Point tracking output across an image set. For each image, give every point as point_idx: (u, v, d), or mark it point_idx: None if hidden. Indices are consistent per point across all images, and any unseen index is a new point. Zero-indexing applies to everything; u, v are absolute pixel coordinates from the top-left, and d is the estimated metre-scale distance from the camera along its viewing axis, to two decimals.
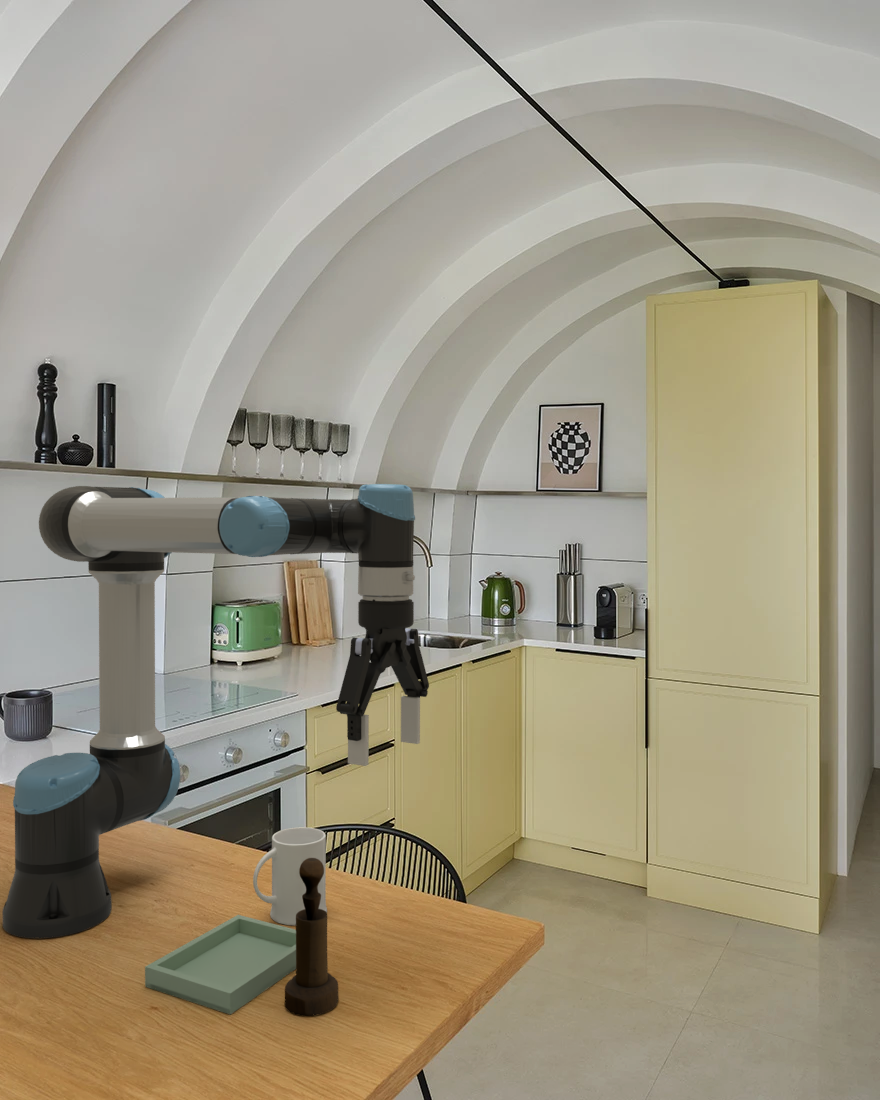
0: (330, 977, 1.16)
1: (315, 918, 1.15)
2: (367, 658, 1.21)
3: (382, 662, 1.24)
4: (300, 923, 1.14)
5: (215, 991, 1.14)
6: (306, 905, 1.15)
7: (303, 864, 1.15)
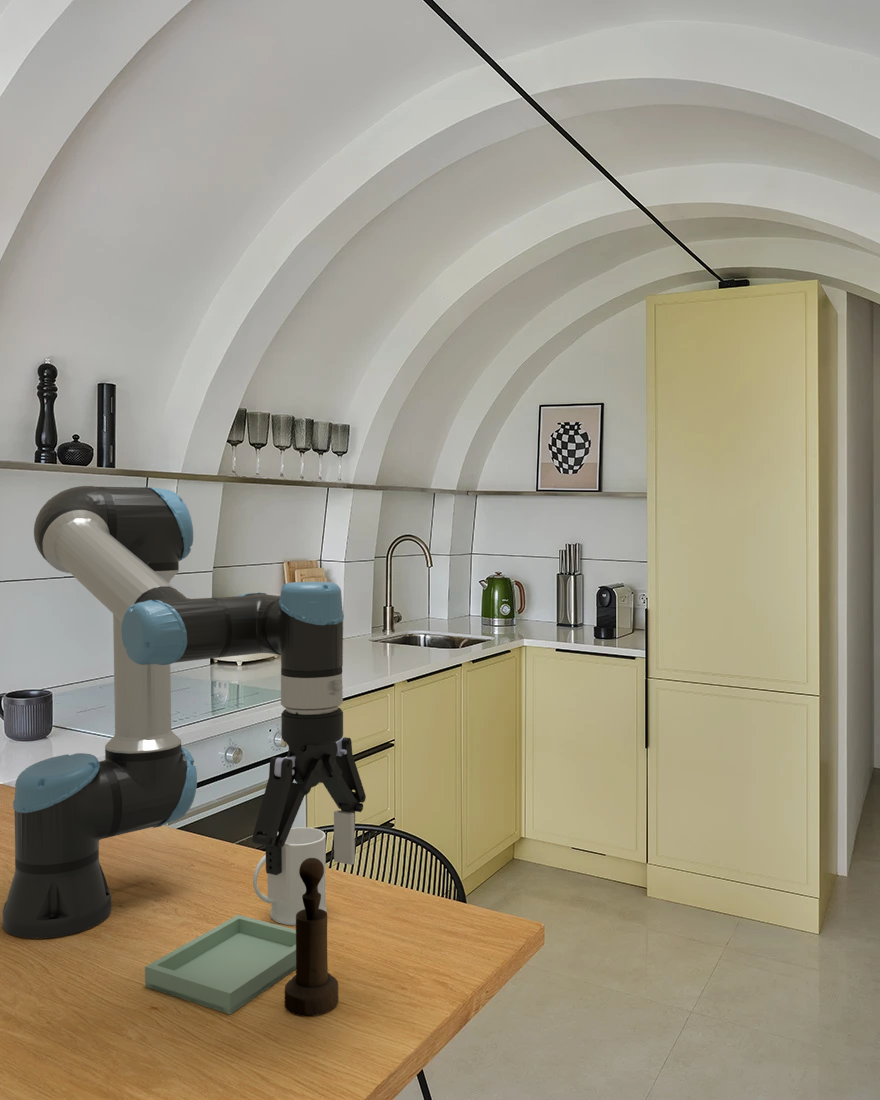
0: (330, 977, 1.16)
1: (315, 918, 1.15)
2: (288, 781, 1.09)
3: (306, 783, 1.11)
4: (300, 923, 1.14)
5: (215, 991, 1.14)
6: (306, 905, 1.15)
7: (303, 864, 1.15)
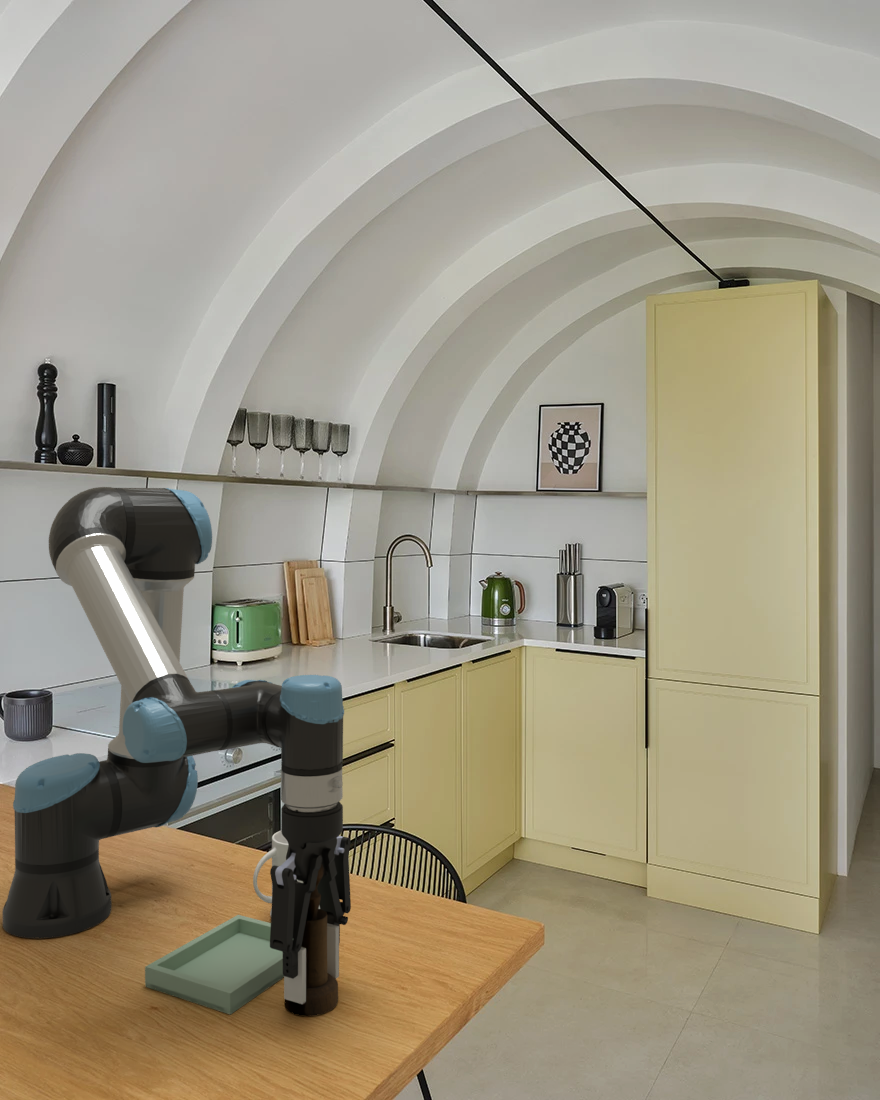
0: (330, 977, 1.16)
1: (315, 918, 1.15)
2: (292, 888, 1.10)
3: (310, 884, 1.12)
4: None
5: (215, 991, 1.14)
6: None
7: None
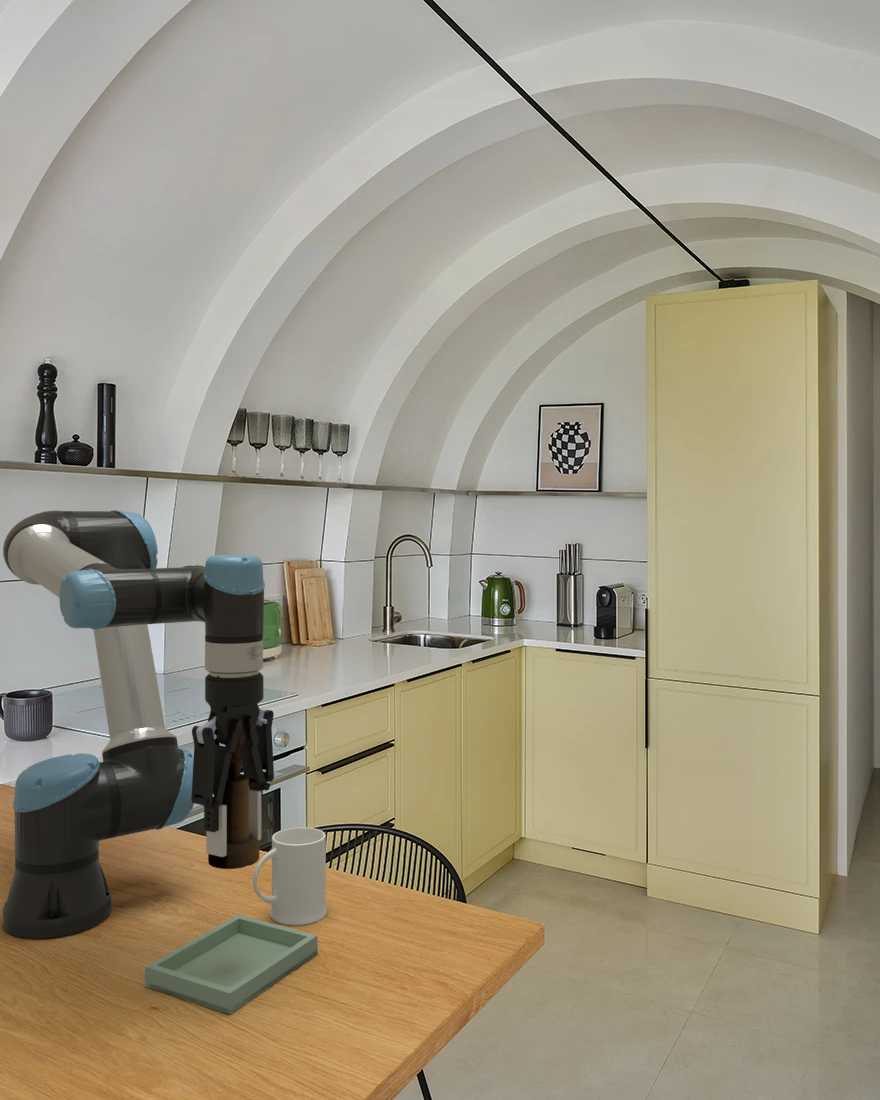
0: (251, 837, 1.24)
1: (237, 780, 1.23)
2: (212, 746, 1.18)
3: (230, 745, 1.20)
4: None
5: (215, 991, 1.14)
6: None
7: None
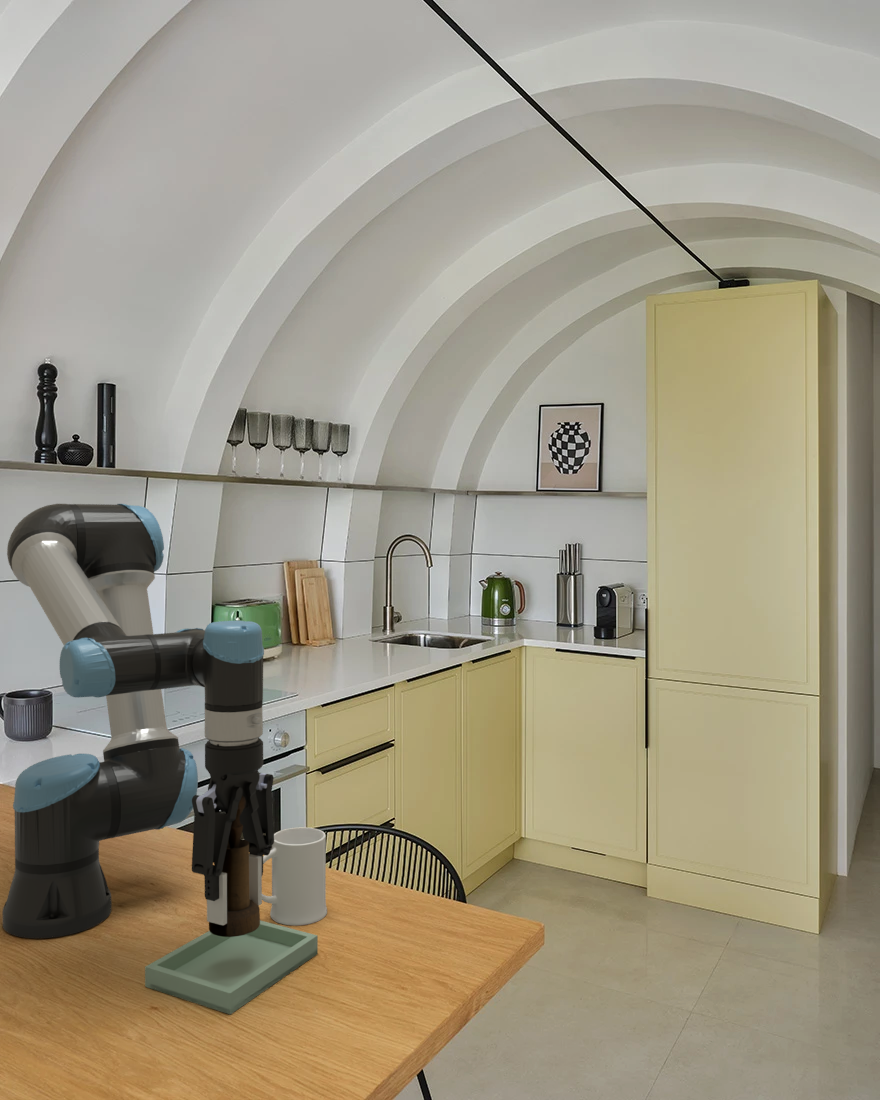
0: (252, 903, 1.24)
1: (237, 847, 1.23)
2: (212, 816, 1.18)
3: (230, 813, 1.20)
4: None
5: (215, 991, 1.14)
6: (229, 835, 1.23)
7: None
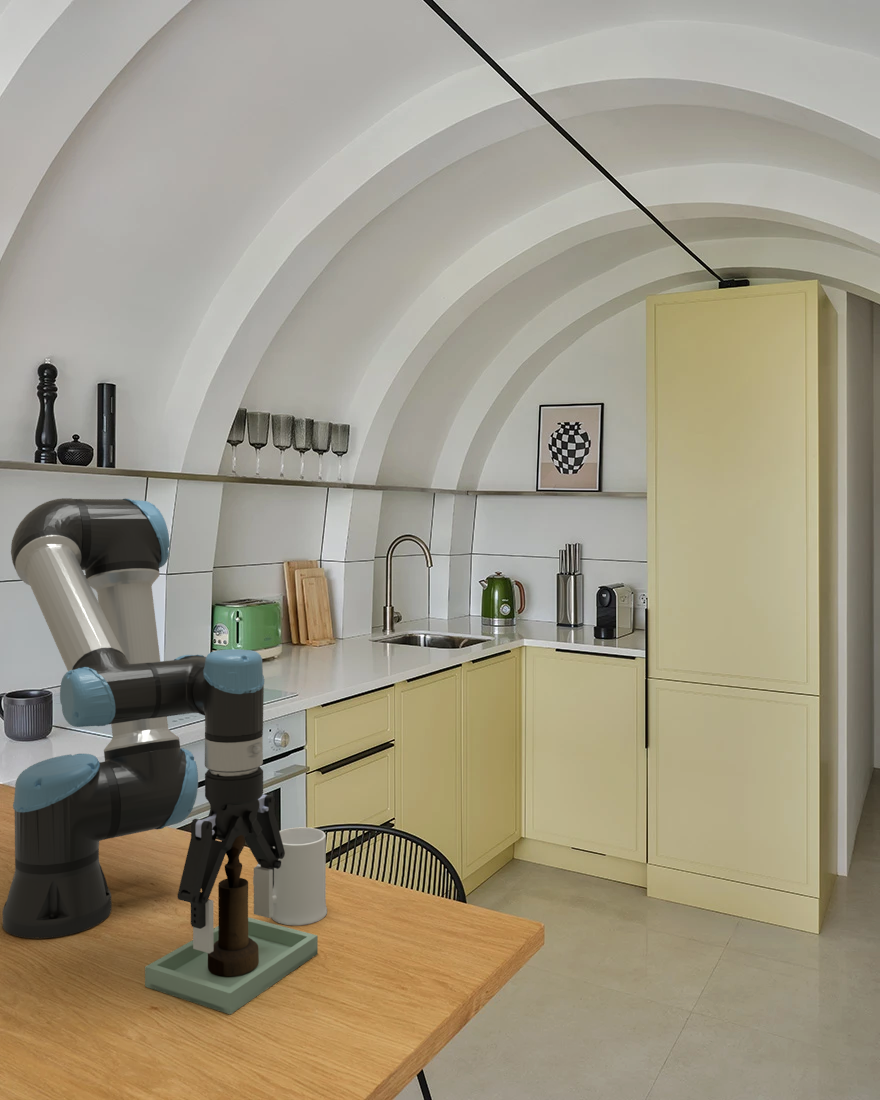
0: (251, 942, 1.25)
1: (236, 886, 1.24)
2: (208, 841, 1.18)
3: (227, 841, 1.20)
4: (221, 890, 1.22)
5: (215, 991, 1.14)
6: (228, 874, 1.23)
7: None
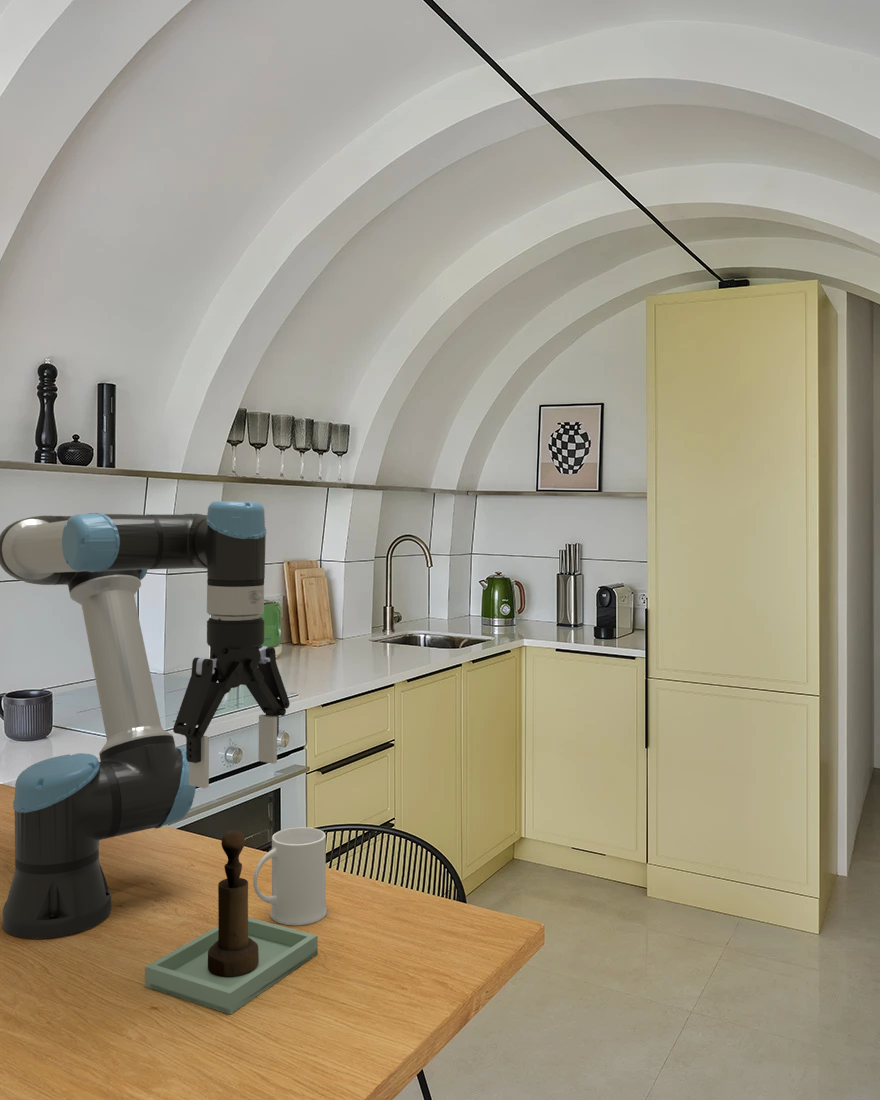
0: (251, 942, 1.25)
1: (236, 886, 1.24)
2: (208, 679, 1.19)
3: (226, 682, 1.22)
4: (221, 890, 1.22)
5: (215, 991, 1.14)
6: (228, 874, 1.23)
7: (225, 836, 1.23)
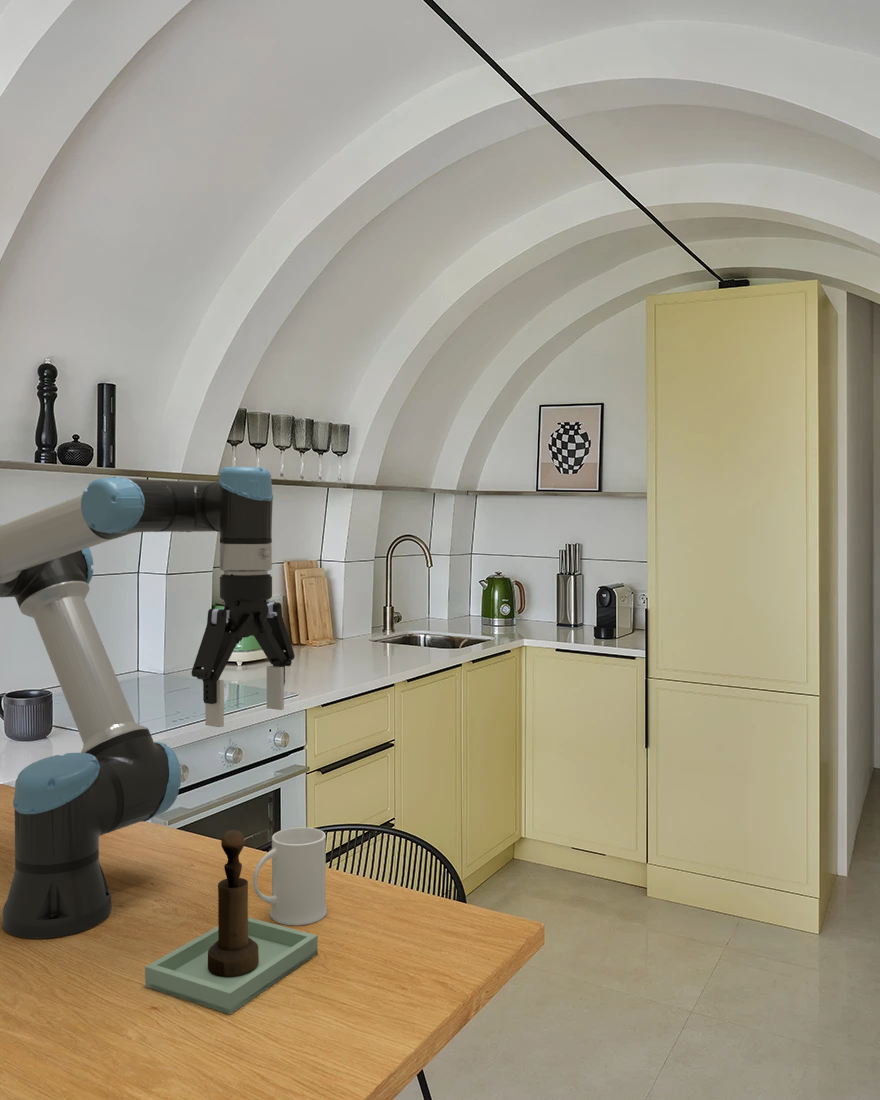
0: (251, 942, 1.25)
1: (236, 886, 1.24)
2: (222, 627, 1.31)
3: (239, 632, 1.33)
4: (221, 890, 1.22)
5: (215, 991, 1.14)
6: (227, 874, 1.23)
7: (224, 835, 1.23)
